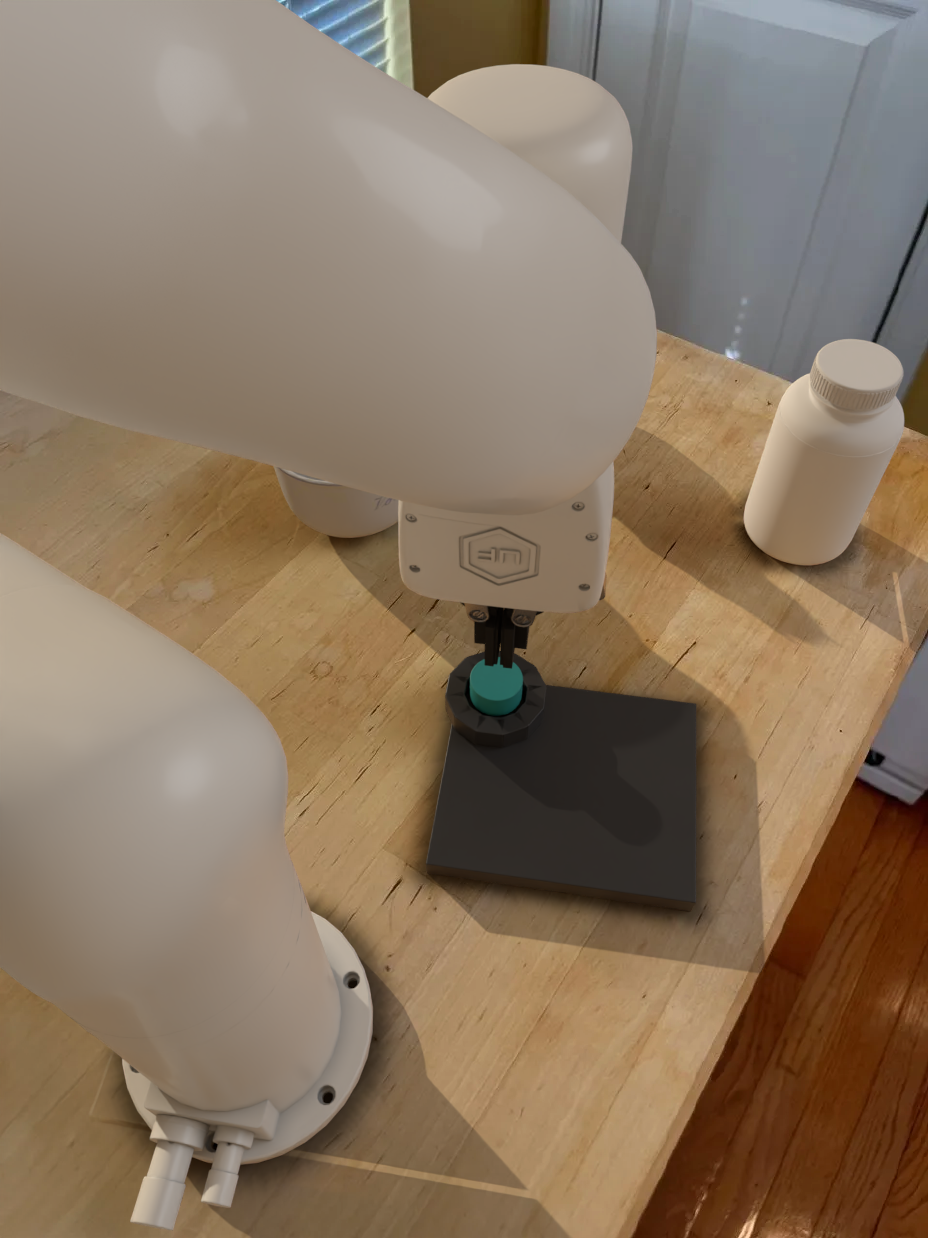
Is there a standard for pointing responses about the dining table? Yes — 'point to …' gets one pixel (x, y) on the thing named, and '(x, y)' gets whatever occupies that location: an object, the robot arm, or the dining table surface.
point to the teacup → (336, 506)
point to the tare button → (495, 688)
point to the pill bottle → (826, 453)
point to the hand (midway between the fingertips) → (501, 646)
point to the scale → (569, 793)
